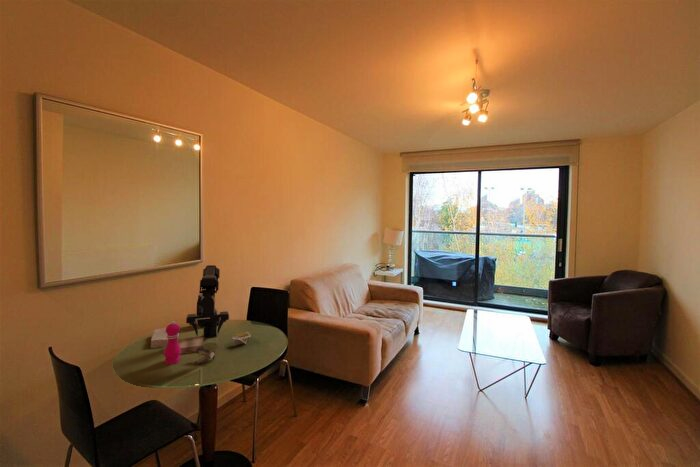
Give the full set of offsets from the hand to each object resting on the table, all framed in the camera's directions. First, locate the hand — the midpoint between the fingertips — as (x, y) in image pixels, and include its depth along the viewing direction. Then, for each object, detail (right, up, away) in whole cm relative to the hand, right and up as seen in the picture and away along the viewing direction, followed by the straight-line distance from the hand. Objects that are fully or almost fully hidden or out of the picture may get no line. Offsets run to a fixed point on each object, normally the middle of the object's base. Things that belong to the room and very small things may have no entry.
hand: (207, 334), depth 156 cm
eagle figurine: (-1, -13, 0) cm, 13 cm away
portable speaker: (-22, -9, +45) cm, 50 cm away
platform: (+10, -13, +21) cm, 26 cm away
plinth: (-15, -11, +13) cm, 23 cm away
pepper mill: (-16, -13, -2) cm, 21 cm away
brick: (-34, -10, +19) cm, 40 cm away
